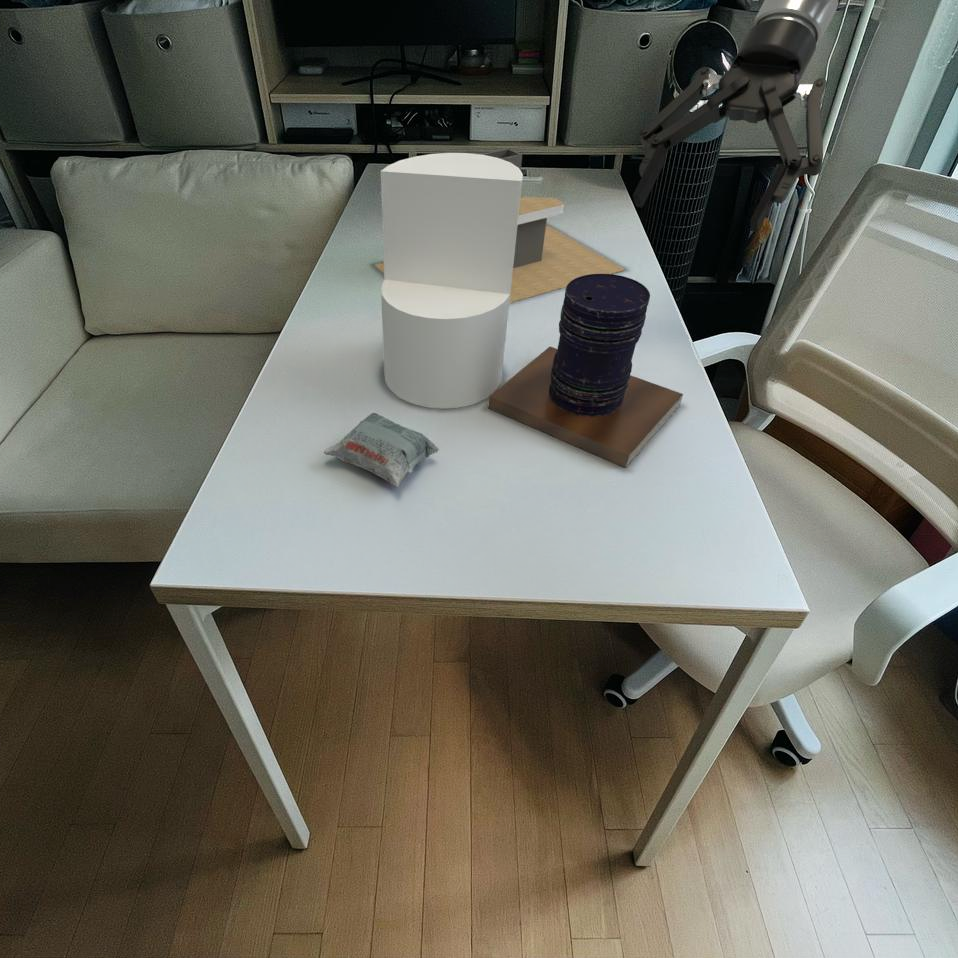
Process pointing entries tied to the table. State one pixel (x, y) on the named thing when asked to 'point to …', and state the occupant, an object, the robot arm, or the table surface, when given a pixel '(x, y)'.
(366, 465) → the packaged food
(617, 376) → the navy ribbed canister
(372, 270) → the table surface
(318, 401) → the table surface
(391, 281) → the cylinder
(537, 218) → the architectural model
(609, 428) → the board
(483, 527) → the table surface
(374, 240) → the table surface
